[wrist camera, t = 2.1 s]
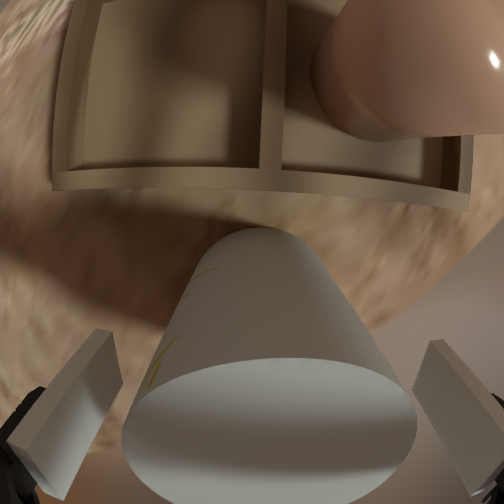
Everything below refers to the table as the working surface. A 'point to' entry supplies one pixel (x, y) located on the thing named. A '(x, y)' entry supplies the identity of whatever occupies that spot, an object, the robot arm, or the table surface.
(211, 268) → the grey cylinder
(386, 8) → the tan rounded cylinder
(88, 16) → the caddy
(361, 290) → the table surface
